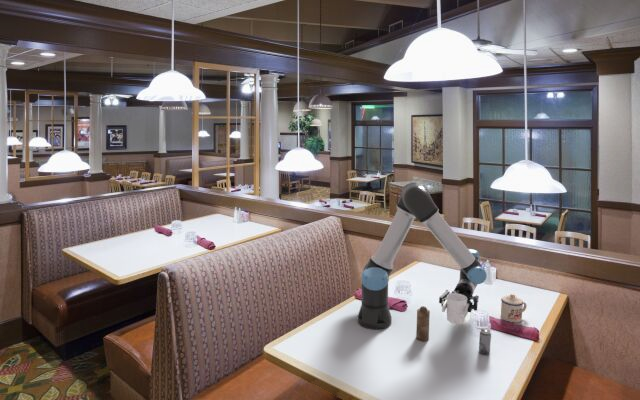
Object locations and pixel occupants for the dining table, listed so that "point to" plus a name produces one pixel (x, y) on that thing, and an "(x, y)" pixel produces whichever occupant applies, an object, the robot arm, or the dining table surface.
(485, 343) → the salt shaker
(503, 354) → the dining table surface
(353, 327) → the dining table surface
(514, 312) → the teacup with lid
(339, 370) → the dining table surface
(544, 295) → the dining table surface
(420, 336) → the pepper mill
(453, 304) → the white cup
